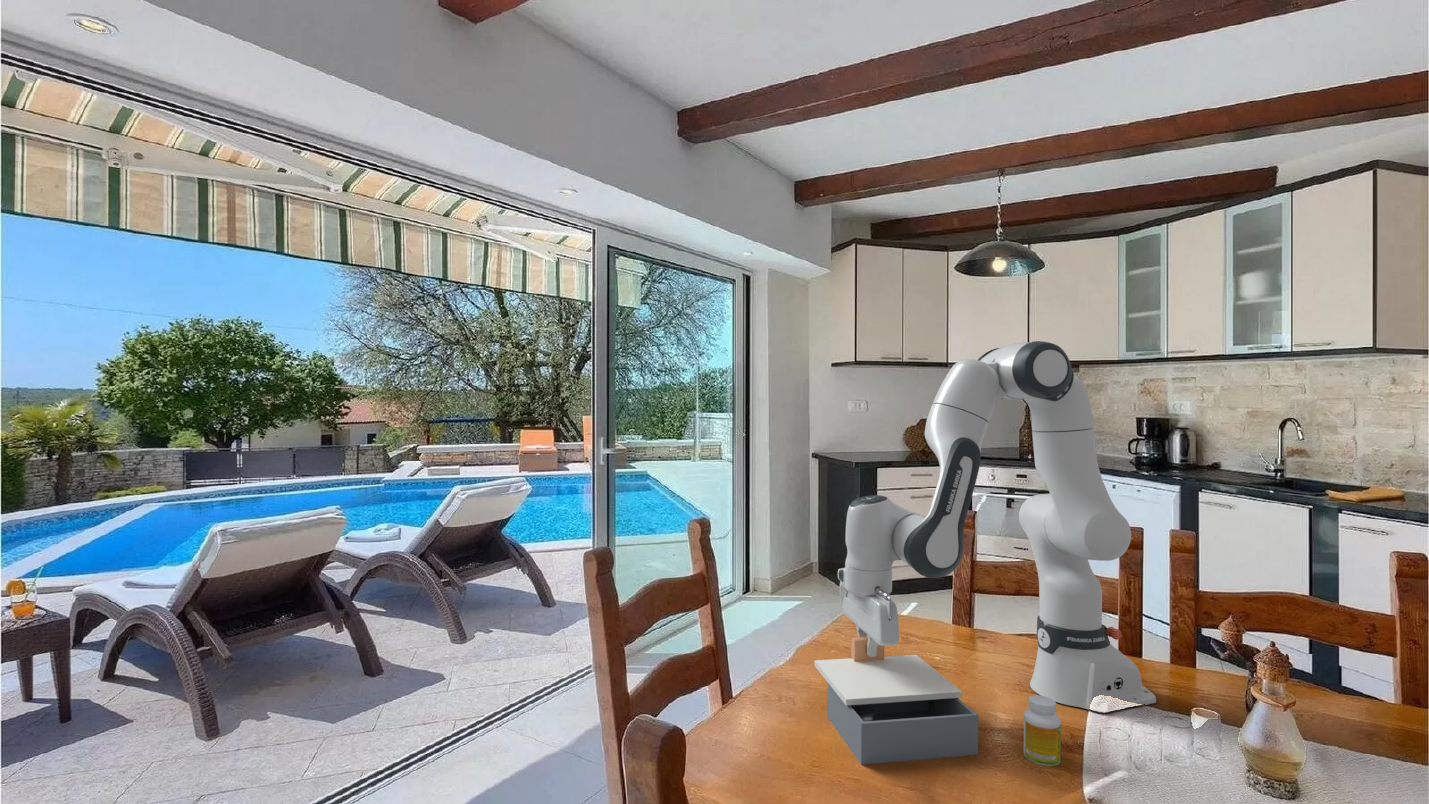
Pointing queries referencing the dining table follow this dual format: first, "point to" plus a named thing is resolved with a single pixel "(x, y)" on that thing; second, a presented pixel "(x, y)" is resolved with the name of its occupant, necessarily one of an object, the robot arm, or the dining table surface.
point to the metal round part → (865, 713)
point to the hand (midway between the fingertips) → (867, 652)
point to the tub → (906, 729)
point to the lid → (883, 677)
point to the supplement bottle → (1042, 731)
